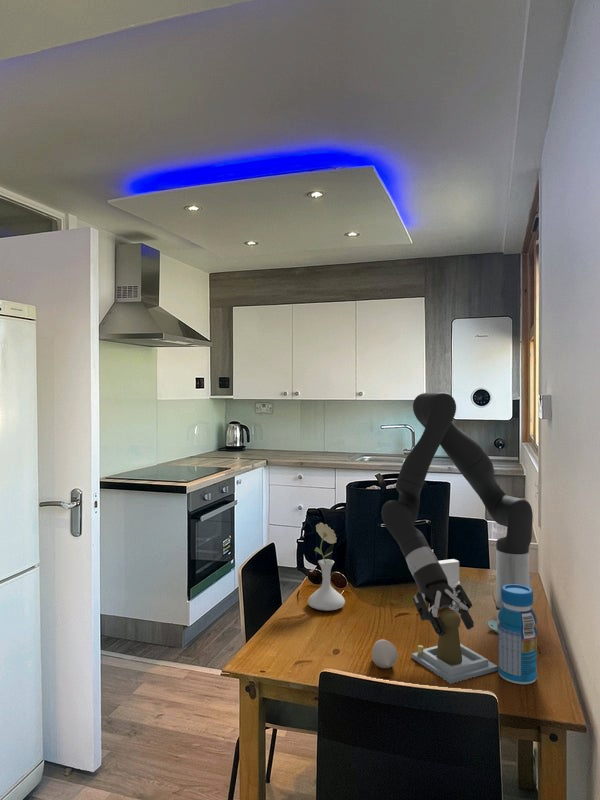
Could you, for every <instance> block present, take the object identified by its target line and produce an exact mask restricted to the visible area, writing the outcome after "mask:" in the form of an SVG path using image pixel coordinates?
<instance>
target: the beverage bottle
mask: <svg viewBox="0 0 600 800" xmlns="http://www.w3.org/2000/svg"><path fill="white" fill-rule="evenodd" d="M533 591H534V590H533V589H532V588H531V589H530V588H529V587H526V586H523V585H517V584H508V585H504V586H503V587H502V589H501V599H502V602H503V603H504V605H503V606H502V607H501V609H500V608H499V610H500V611H499V614H498V619H499V621H500V622H499V624H498V628H497V630H498V633H497V634H498V635H497V637H498V638H497V639H498V641H497V645H498V647H497V649H498V650H497V651H498V653H497V654H498V658H497V659H498V661H497V662H498V665H497V666H498V671H497V672H498V674H499V676H500V678H502V679H503V680H505V681H506V682H510V683H512V684H515V685H530V684H533V683H534V682H536V681H537V677H538V674H537V672H538V671H537V670H538V669H537V663H538V662H537V654H538V653H537V650H538V649H537V646H538V644H537V641H538V640H537V639H538V629H537V627H536V625H537V623H538V621H537V617H536V614H535V612H534V611H533V609H532V607H533V604H534V592H533Z"/></svg>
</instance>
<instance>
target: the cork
mask: <svg viewBox="0 0 600 800" xmlns="http://www.w3.org/2000/svg"><path fill="white" fill-rule="evenodd" d="M437 617H439V619H440V621H441V623H442V625H443V627H444V629H445V634H444V635H443V636H439V635H438V641H437V642H438V643H437V646H438V648H437V655H436V657H437V658H439V659H440V660H442V661H443V662H445V663H446V664H448V665H457V664H460V663H461V662H462V654H461V646H460V644H461V639H460V631H459V628H460V625H461V622H462V621H461V620H462V619H461V617H460V614H459V613H458V612H456V611H453V610H444V611H441V612H440V613H439V614H438V615H437Z"/></svg>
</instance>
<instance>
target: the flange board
mask: <svg viewBox="0 0 600 800" xmlns="http://www.w3.org/2000/svg"><path fill="white" fill-rule="evenodd" d="M460 646H461V654H462V662H461V663H460V664H457V665H448V664H446V663H445V662H443V661H442V660H440V659H439V658H437V657H436V655H437V648H438V645H434V646H431V647H426V648H424V646H423V645H421V644H419V645H417V652H416V651H415V652H413V653H411V659H413V660H415V661H416V662H418V663H419V664H420V665H422V666H424V667H425V668H426V669H428V670H429V669H430V670H429V671H431V672H432V671H433V672H432V673H433V674H435V675H436V676H437V677H439V676H440V678H441V677H442V678H443V679H442V678H441V679H442V680H443V681H445V680H446V681H445V682H447V683H448V682H449V683H448V684H450V685H452V683H453V684H455V682H456V683H460V682H463V681H466V680H469V678H470V679H473V678H476V677H481V676H483V675H487V674H490V673H493V672H498V665H497V664H495V663H494V662H491V661H490V660H489V659H488V658H486V657H484V656H483V655H481V654H479V653H477V652H476V651H474V650H472V649H471V648H469V647H467V646H465V645H464V644H462V643H460ZM472 677H473V678H472ZM462 680H463V681H462ZM459 681H460V682H459Z"/></svg>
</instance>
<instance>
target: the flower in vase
mask: <svg viewBox="0 0 600 800" xmlns="http://www.w3.org/2000/svg"><path fill="white" fill-rule="evenodd" d="M315 531H316V533H318V535H319V536H320V538H321V542H320V546H319V547H318V546H316V547H315V549H314V550H313V551H314V552H316V553H318V554H319V555H321V556H322V559H319V560H317V564H319V566H320V568H321V573H322V574H321V575H322V582H321V585H320V587H319V588H318V589H317V590H315V591H314V592H313V593H312V594H311V595H310V596H309V597H308V599H307V604H308V605H309V607H311V608H313V609H315V610H319V611H327V612H328V611H335V610H338V609H341V608H343V607H344V605H345V604H346V600H345V597H344V596H343V595H342V594H341V593H339V592H338V590H336V589H335V588H334V587H332V585H331V572H332V571H331V570H332V567H333V565H334V564H335V561H334V560H333V559H329V558H327V559H326V557H328V556H330V555H331V554H332V553H333V550H332V551H331V552H328V553H326V554H325V555H324V553H323V551H322V545H323V542H327V543H328V544H331V545H332V544H335V543H337V539H338V538H337V537H336V536H337V535H336V533H335V530H334V529H331V527H330V526H328V524H326V523H325V524H324V523H323V522H319V523H317V524H316V525H315Z"/></svg>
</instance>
